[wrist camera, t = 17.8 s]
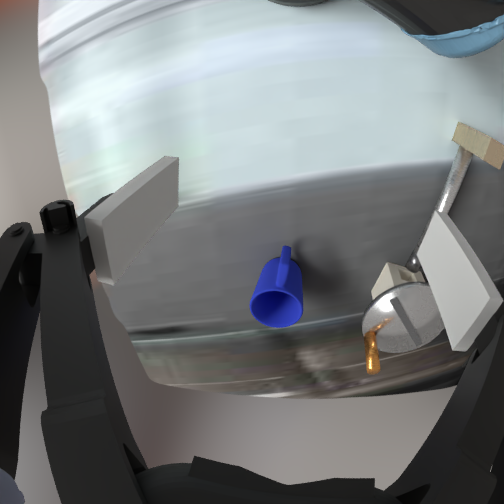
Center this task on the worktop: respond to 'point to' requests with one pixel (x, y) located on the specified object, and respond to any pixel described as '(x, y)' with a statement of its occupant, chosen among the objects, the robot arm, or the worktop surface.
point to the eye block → (394, 278)
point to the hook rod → (461, 173)
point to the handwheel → (400, 321)
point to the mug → (278, 292)
